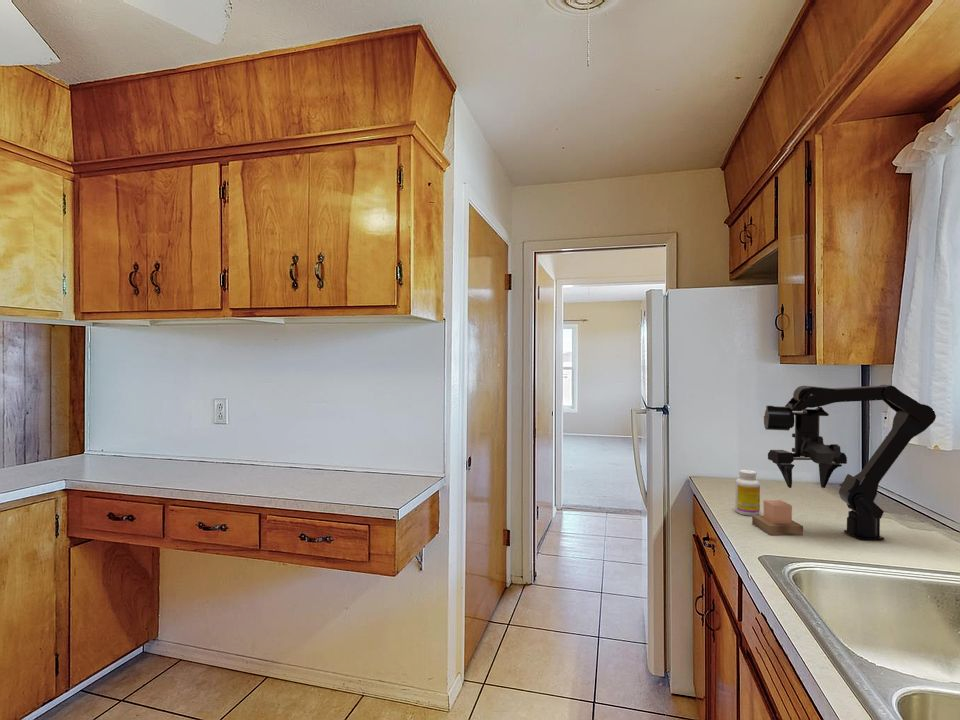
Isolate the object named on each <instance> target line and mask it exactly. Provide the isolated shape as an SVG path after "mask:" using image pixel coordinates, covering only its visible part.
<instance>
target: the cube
mask: <svg viewBox="0 0 960 720" xmlns="http://www.w3.org/2000/svg"><path fill="white" fill-rule="evenodd" d="M762 516H763V518H765V519H766V520H768V521H770V522H771V523H773V524H792V520H793V518H792V517H793V505H791V504H789V503H787V502H786V501H783V500H782V499H780V500H779V499H778V500H777V499H774V500H773V499H769V500H768V499H766V500H765V499H764V500H763V515H762Z"/></svg>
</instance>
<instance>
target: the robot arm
mask: <svg viewBox="0 0 960 720" xmlns="http://www.w3.org/2000/svg"><path fill="white" fill-rule="evenodd" d="M792 396H793V397H792V398H790V400H789V401H788V402H787V403H786V405H784V406H777V405H776V406H774V405H766V406H765V407H766V408H765V411H764V416H763V427H764V429H765V430H768V431H788V432H789V431H790V429H792V428H794V433H792V434H791V438H794V447H791V452H790V451H787V450H784V449H770V450H769V452H767V459H768V460H769V461H772V463H774V464H776V466H777V468H778V470H779V471H780V473H781V475H782V477H783V479H784V482H785V483H786V486H787V488H789V489H792V486H793V469H794V467H795V464H793V462H794V461H812V462H813V463H815V464H818V473H819V474H818V475H819V483H820V487H821V488H822V489H826V488H827V487H826V486H827V484H828V483H829V480H830V478H831V477H832V474H833V472H834V471H835V470H836V469H837V468H839V467H840V468H841V467H842V466H843V465H846V464H848V457H847V455H846V453H845V452H841V446H840V445H839V444H837V443H835V444H834V443H832V444H825V443H824V437H823V436H821V435H820V418H821V417H828V416H829V415H830V414H829V413H828V411H825V410H824V408H823V407H824V406H827V405H828V406H829V405H831V404H835V403H843V402H844V403H847V402H851V403H852V402H868V401H869V402H871V401H883V402H884V403H885V404H886V405H887V406H888V407H889V408H890V409H892V411H894V412H895V414H894V416H893V421H892V426H891V430H890V431H889V432H888V434H887V435H886V436H885V438H884V439H883V440H882V442H881V443H880V444H879V446H878V448H877V449H876V450H875V452H874V453H873V454H872V455H871V457H870V459H868V461H867V463H866V464H865V465H864V467H863V468H862V469H861V470H860V471H859V473H857V474H855V475H854V476H853V475H852V474H850V473H848V474H847V475H846V476H845V478H844V480H843V481H842V482H841V483H840V484H839V485H838V486H839V491H838V494H839V497H840V499H841V501H843V502H844V503H846V506H847V508H848V509H849V511H848V513H847V514H848V516H847V517H846V529H843V533H845V534H848V535H850V536H852V537H854V538H856V539H858V540H860V541H861V540H862V541H865V540H867V541H868V540H869V541H870V540H871V541H874V540H875V541H885V537H884V536H881V535H880V532H881V530H880V529H881V518H882V517H883V515H884V512H885V511H884V510H883V509H882V508H881V507H880V506H879V505H878V504H876V502H875V499H876V497H877V496H878V489H879V484H880V482H881V480H882V479H883V478H884V477H885V475H886V474H887V473H888V471H889V470H890V469H891V467H892V466H893V464H894V463H895V462H896V460H897V459H898V457H899V456H900V455H901V454H902V452H903V451H904V449H906V447H907V446H908V444H909V443H910V442H911V440H912V439H913V438H916V437H917V436H918V435H920V434H922V433H923V432H925V431H926V430H927V429H928V428H929V427H930V426H931V425H932V424H934V423H935V421H936V418H937V415H936V412H935V410H934V409H933V408H932V406H929V405H928V404H923V403H920V402H918V401H917V400H916V399H914V398H912V397H910V396H909V395H908V394H906V393H904V392H902V391H901V390H900V389H898V388H897V387H896V386H894V385H890V384H880V385H873V386H872V385H868V386H866V385H865V386H852V387H851V386H849V387H833V388H832V387H823V386H822V387H821V386H815V385H814V386H813V385H800V386H798V387H797V388H795V389H794V391H793V394H792ZM933 410H934V411H933Z"/></svg>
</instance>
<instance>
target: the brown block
mask: <svg viewBox="0 0 960 720" xmlns="http://www.w3.org/2000/svg"><path fill="white" fill-rule="evenodd" d="M751 517H752V519H751V520H752V521H751V525H753V526H754V525H755V526H754V527H756V528H757V527H758V529H759V528H760V529H759V530H761V531H762V530H763V533H765V532H766V534H767V533H768V534H767V535H769V536H804V525H802V524H800V523H798V522H796V521H795V520H793V519H792V524H773V523H771V522H770V521H768V520H766V519H765V518H763V515H756V516H751Z"/></svg>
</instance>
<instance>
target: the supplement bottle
mask: <svg viewBox="0 0 960 720" xmlns="http://www.w3.org/2000/svg"><path fill="white" fill-rule="evenodd" d="M738 475H739V477H738V478H737V479H736V480H735V512H736V513H738V514H740V515H743V516H751V517H752V516H759V515H760V513H761V511H760V509H761V508H760V507H761V504H760V503H761V501H760V500H761V491H760V489H761V484H760V481H759V480H757V479H756V478H757V472H756V471H755V470H751V469H750V470H748V469H740V470H739V472H738Z"/></svg>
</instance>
